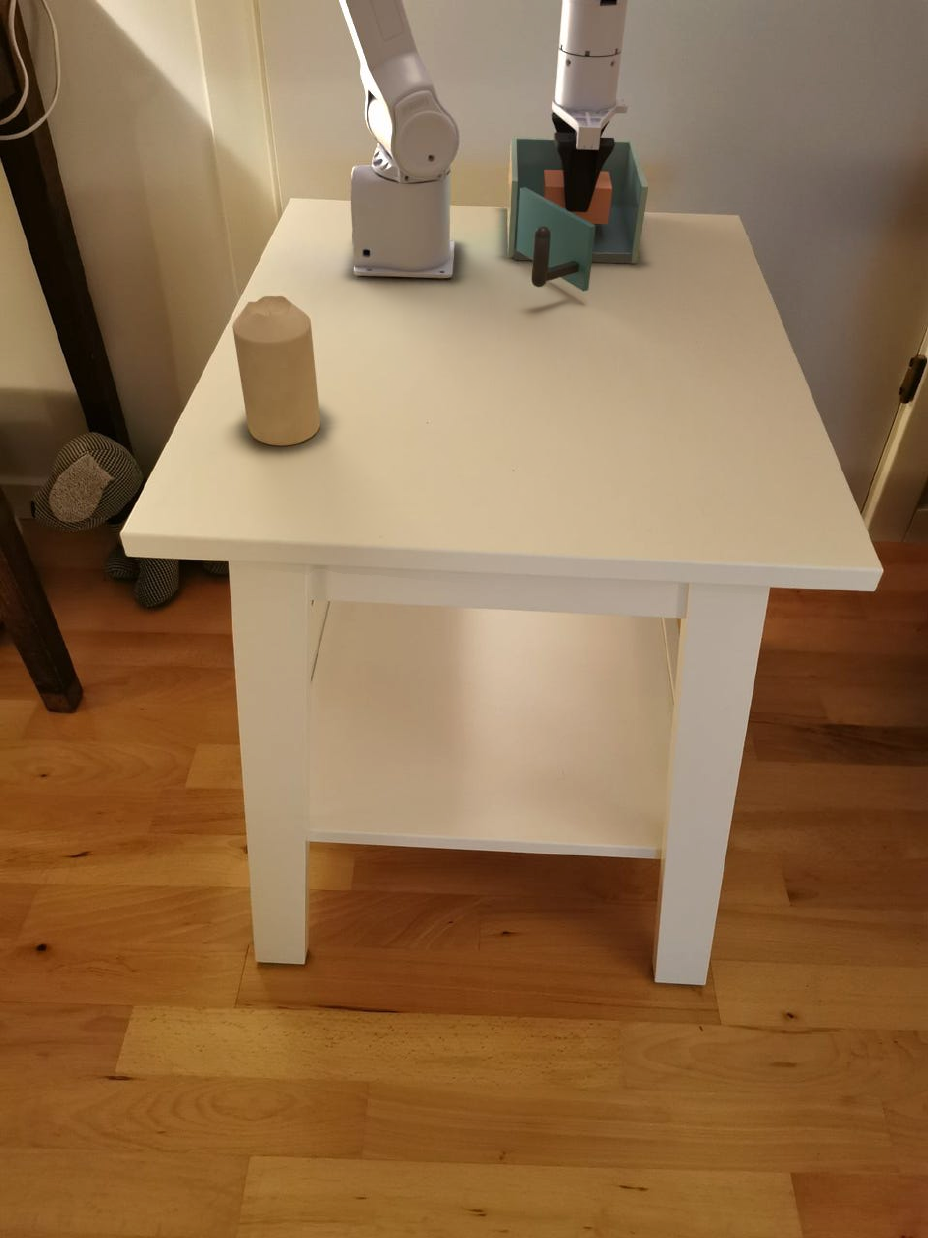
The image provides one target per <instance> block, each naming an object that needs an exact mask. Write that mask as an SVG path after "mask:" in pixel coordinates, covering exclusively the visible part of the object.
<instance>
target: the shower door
mask: <svg viewBox="0 0 928 1238" xmlns="http://www.w3.org/2000/svg"><path fill="white" fill-rule="evenodd" d="M595 227H596V226H595V225H593V224H591V223H590V222H588V221H586V220H584V219H582V218H580V217H579V216H577V215H575V214H573V213H571V212H570V211H568V210H566V209H564V208H562V207H560V206H559V205H557V204H555V203H553V202H551V201H549V200H548V199H546V198H544V197H542V196H540V195H539V194H537V193H535V192H533V191H531V190H529V189H528V188H526V187H523V188H520V200H519V217H518V234H517V251H518V252H520V253H522V254H523V255H525V256H527V257H528V258H530V259H531V260H530V261H532V264H531V265H532V267H531V283H532V285H533V286H534V287H536V288H543V287H545V285H546V284H547V282H550V281H553V280H555V279H559V278H561V279H562V280H564V281H565V282H567V283H569V284H570V285H572V286H573V287H575V288H577V289H578V290H580V291H582V292H587V291H589V287H590V277H591V270H592V263H593V262H592V253H593V244H594V236H595Z"/></svg>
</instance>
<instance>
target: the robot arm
mask: <svg viewBox="0 0 928 1238" xmlns="http://www.w3.org/2000/svg"><path fill="white" fill-rule="evenodd" d="M338 1H339V3H340V7H341V9H342V12H343V15H344V18H345V21H346V23H347V26H348V29H349V32H350V35H351V37H352V41H353V44H354V47H355V49H356V52H357V55H358V58H359V62H360V79H361V81H362V84H363V86H364V91H365V109H364V116H365V117H364V118H365V122H366V126H367V129H368V131H369V132H370V134H371V135H372V137H373V138H374V139H375V141H377V146H376V149H375V152H374V154H373V158H372V163H370V164H364V165H354V166H353V167H352V170H351V177H350V215H351V218H350V219H351V243H352V247H353V248H352V249H353V263H354V267H353V274H354V275H355V276H362V277H363V276H367V277H397V278H398V277H399V278H425V279H426V278H427V279H428V278H430V279H431V278H432V279H450V278H453V274H454V273H453V271H454V260H455V259H454V258H455V247H456V242H455V241H454V240H453V239H451V165H452V164H453V162H454V160H455V158H456V157H457V154H458V151H459V147H460V131H459V127H458V124H457V121H456V120H455V118H454V116H453V115H452V113H451V112H450V111H449V110H448V109H447V108H446V107H445V106H444V105H443V104H442V102H441V100H440V99H439V97H438V94H437V91H436V88H435V84H434V83H433V80H432V78H431V76H430V74H429V72H428V70H427V68H426V66H425V64H424V62H423V60H422V57H421V56H420V54H419V51H418V49H417V46H416V41H415V39H414V36H413V32H412V28H411V27H410V26H411V25H410V23H409V18H408V15H407V13H406V12H407V11H406V9H405V6H404V2H403V0H338ZM561 1H562V2H561V13H560V15H561V16H560V27H559V40H558V53H557V65H556V76H555V78H556V79H555V89H554V91H555V92H554V97H553V98H552V101H551V102H552V103H551V110H552V113H551V121H552V124H553V127H554V129H555V132H553V138H554V141H555V145H556V148H557V151H558V154H559V156H560V160H561V170H563V180H564V197H565V205H566V210H568V211H570V212H587V211H588V208H589V206H590V203H591V200H592V197H593V193H594V190H595V186H596V183H597V180H598V177H599V175H600V172H601V170H602V168H603V166H604V164H605V162H606V160H607V159H608V157H609V156H610V154H611V153H612V151H613V149H614V146H615V141H614V140H615V138H614V137H602V136H603V134H604V132H605V130H606V128H607V127H608V125H609V123H610V121H611V120H612V118H613V117H614V116H615V115H617V114H626V113H627V112H628V108H629V104H628V101H627V99H624V98H617V93H618V90H617V89H618V84H619V83H618V82H619V74H620V68H621V66H620V65H621V60H622V59H621V58H622V50H623V41H624V33H625V26H626V16H627V8H628V0H561Z"/></svg>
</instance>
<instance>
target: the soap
mask: <svg viewBox="0 0 928 1238" xmlns="http://www.w3.org/2000/svg"><path fill="white" fill-rule="evenodd" d="M611 195H612V186H611V181H610V177H609V172H600V175H599V177H598V180H597V183H596V186H595V190H594V193H593V197H592V200H591V203H590V206H589V208H588V211H587V212H571V213H573V214H575V215H577V216H579V217H580V218H582V219H584V220H586V221H588V222H590V223H591V224H608V219H609V211H610V203H611ZM542 197H544V198H546V199H548V200H549V201H551V202H553V203H555V204H557V205H559V206H560V207H562V208H564V209H566V205H565V197H564V180H563V170H544V180H543V193H542Z"/></svg>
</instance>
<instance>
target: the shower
mask: <svg viewBox="0 0 928 1238" xmlns="http://www.w3.org/2000/svg"><path fill="white" fill-rule="evenodd" d="M614 141H615V146H614V149H613V151H612V153H611V154H610V156H609V157H608V159H607V160H606V162H605V164H604V166H603V168H602V170H601V172H609V177H610V181H611V186H612V195H611V203H610V211H609V219H608V224H593V225H595V226H596V227H595V236H594V244H593V253H592V262H591V263H604V264H634V265H636V264H638V258H639V251H640V245H641V238H642V231H643V225H644V219H645V213H646V204H647V198H648V191H649V185H648V182H647V178H646V174H645V171H644V167H643V163H642V161H641V157H640V154H639V150H638V147H637V143H636V141H635V140H633V139H614ZM509 145H510V147H509V165H508V166H509V168H508V187H507V205H506V206H507V207H506V213H507V214H506V217H507V218H506V219H507V222H506V223H507V224H506V225H507V231H506V232H507V258H513V260H514V261H532V260H531V259H530V258H528V257H527V256H525V255H523V254H522V253H520V252H518V251H517V234H518V217H519V200H520V188H523V187H526V188H528V189H529V190H531V191H533V192H535V193H537V194H539V195H540V196H542V193H543V180H544V170H561V160H560V156H559V154H558V151H557V148H556V145H555V141H554V137H534V136H513V137H510V144H509Z"/></svg>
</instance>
